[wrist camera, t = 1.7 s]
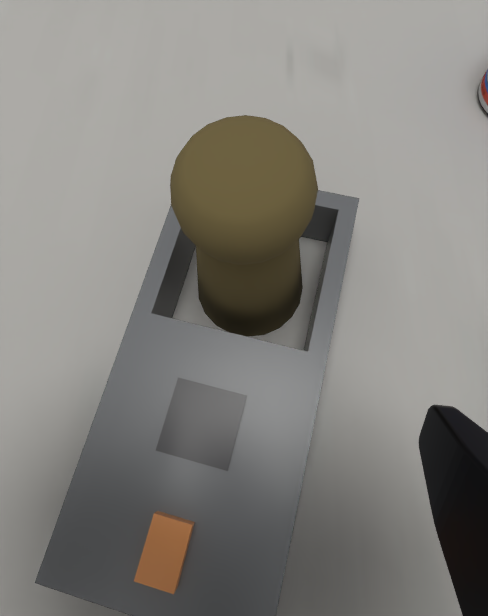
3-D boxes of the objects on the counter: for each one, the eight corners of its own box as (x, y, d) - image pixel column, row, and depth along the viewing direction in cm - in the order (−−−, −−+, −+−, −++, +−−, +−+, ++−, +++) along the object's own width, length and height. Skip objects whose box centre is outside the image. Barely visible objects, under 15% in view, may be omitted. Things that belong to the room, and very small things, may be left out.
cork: (211, 348, 22) (167, 267, 12) (187, 252, 24) (131, 108, 13) (316, 320, 22) (365, 216, 12) (285, 228, 24) (304, 68, 14)
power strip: (265, 620, 18) (266, 670, 14) (73, 557, 19) (26, 588, 15) (345, 231, 24) (361, 191, 20) (195, 200, 25) (183, 156, 21)
